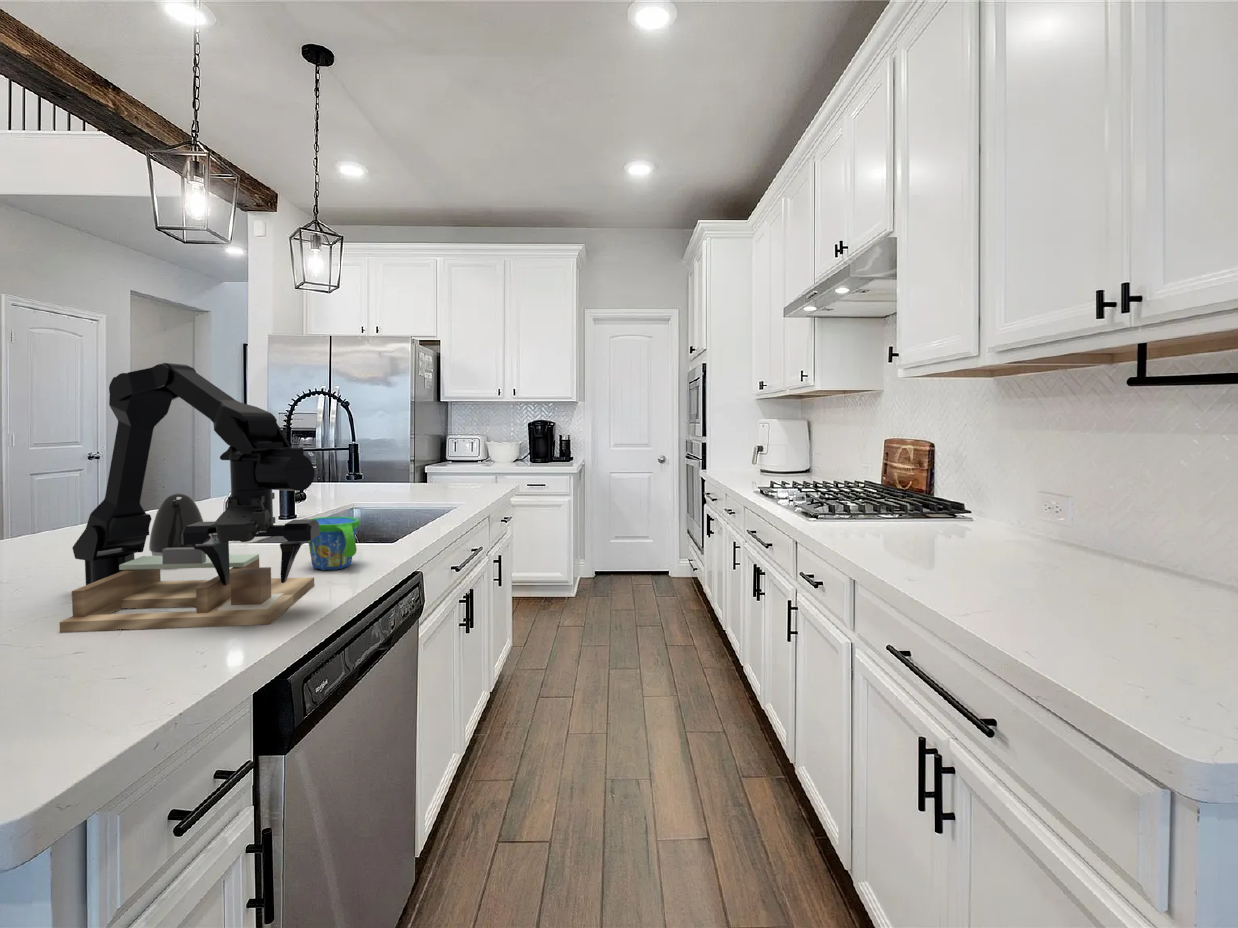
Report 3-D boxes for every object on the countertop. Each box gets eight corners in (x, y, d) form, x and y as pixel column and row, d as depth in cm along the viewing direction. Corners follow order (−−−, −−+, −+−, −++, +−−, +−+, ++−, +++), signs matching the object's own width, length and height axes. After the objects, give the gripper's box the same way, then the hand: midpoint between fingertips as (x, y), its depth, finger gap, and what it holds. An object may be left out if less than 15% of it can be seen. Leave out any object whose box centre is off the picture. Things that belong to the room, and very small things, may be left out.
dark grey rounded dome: (144, 571, 124) (142, 497, 123) (155, 560, 134) (153, 491, 133) (204, 567, 129) (203, 495, 128) (211, 557, 138) (209, 490, 137)
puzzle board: (59, 632, 89) (58, 594, 89) (148, 589, 112) (147, 559, 111) (270, 624, 94) (269, 588, 94) (314, 585, 117) (313, 556, 117)
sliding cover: (119, 569, 103) (118, 550, 103) (142, 560, 110) (142, 542, 110) (243, 567, 107) (243, 548, 106) (259, 558, 113) (258, 540, 113)
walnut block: (231, 605, 98) (230, 574, 97) (242, 597, 102) (242, 567, 102) (261, 604, 98) (260, 573, 98) (271, 596, 103) (270, 567, 102)
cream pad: (217, 610, 96) (217, 608, 96) (238, 596, 104) (238, 594, 103) (266, 609, 97) (266, 607, 97) (283, 595, 105) (283, 593, 105)
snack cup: (372, 569, 130) (372, 522, 129) (320, 578, 122) (320, 527, 122) (342, 557, 141) (342, 513, 140) (293, 564, 133) (292, 517, 133)
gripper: (159, 495, 89) (164, 600, 90) (298, 493, 93) (301, 594, 94) (196, 487, 100) (200, 581, 101) (319, 485, 104) (321, 576, 105)
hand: (255, 583), depth 100 cm, fingers open, 8 cm apart
